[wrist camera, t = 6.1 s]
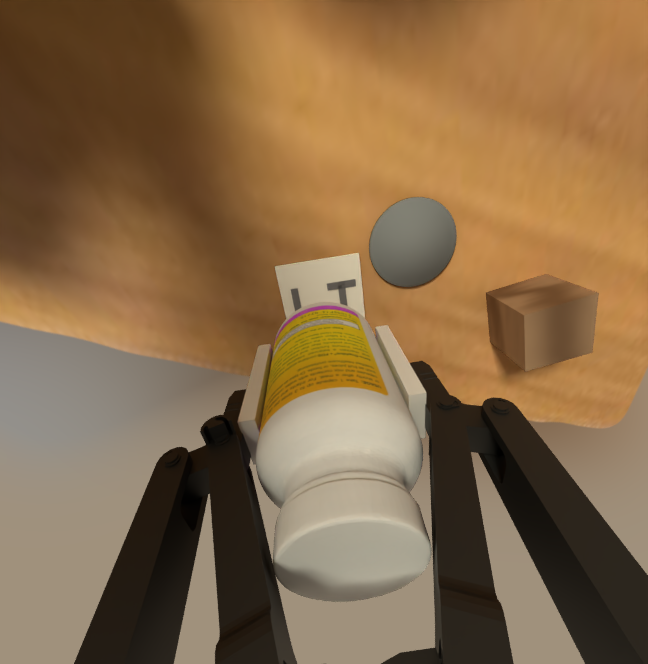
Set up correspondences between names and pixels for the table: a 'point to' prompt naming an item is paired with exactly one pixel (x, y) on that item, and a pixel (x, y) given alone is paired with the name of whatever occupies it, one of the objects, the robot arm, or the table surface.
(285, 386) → the supplement bottle
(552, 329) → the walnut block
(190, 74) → the table surface
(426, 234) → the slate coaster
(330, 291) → the tile
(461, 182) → the table surface
